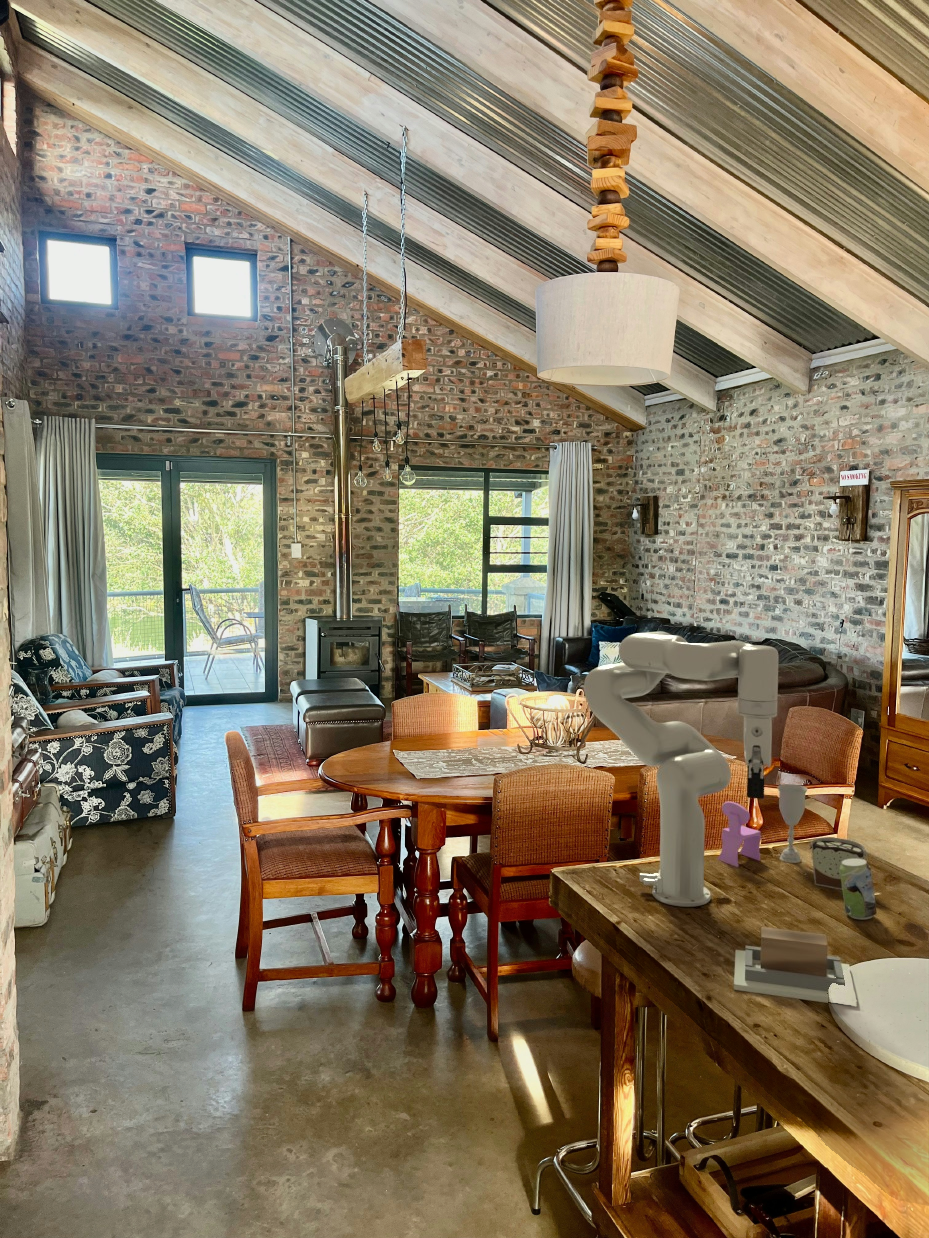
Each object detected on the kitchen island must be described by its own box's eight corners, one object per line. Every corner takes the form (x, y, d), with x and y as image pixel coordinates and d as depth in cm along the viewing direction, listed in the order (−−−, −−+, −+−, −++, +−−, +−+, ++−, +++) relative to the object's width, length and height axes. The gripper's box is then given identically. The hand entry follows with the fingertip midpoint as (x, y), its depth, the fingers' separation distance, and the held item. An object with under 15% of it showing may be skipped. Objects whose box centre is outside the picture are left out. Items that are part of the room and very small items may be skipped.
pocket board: (733, 989, 158) (734, 973, 158) (735, 954, 172) (735, 939, 171) (857, 1006, 152) (857, 989, 152) (848, 969, 166) (849, 953, 165)
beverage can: (879, 923, 185) (881, 867, 184) (841, 920, 187) (843, 864, 186) (872, 911, 191) (874, 856, 190) (835, 908, 193) (837, 854, 192)
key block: (826, 983, 158) (827, 945, 158) (760, 974, 162) (761, 936, 161) (824, 971, 163) (825, 934, 162) (760, 963, 166) (761, 926, 165)
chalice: (790, 865, 218) (792, 793, 217) (769, 857, 224) (771, 786, 223) (811, 860, 222) (814, 789, 220) (790, 852, 228) (792, 782, 226)
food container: (870, 885, 206) (871, 842, 205) (866, 894, 201) (867, 850, 200) (813, 874, 213) (814, 833, 212) (808, 883, 208) (809, 840, 207)
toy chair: (765, 861, 222) (766, 801, 221) (741, 868, 217) (742, 807, 216) (738, 851, 229) (739, 793, 228) (714, 858, 224) (715, 799, 223)
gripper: (778, 716, 171) (776, 804, 172) (776, 701, 187) (774, 781, 189) (737, 714, 173) (735, 801, 175) (738, 699, 190) (736, 779, 191)
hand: (755, 791), depth 182 cm, fingers open, 9 cm apart
